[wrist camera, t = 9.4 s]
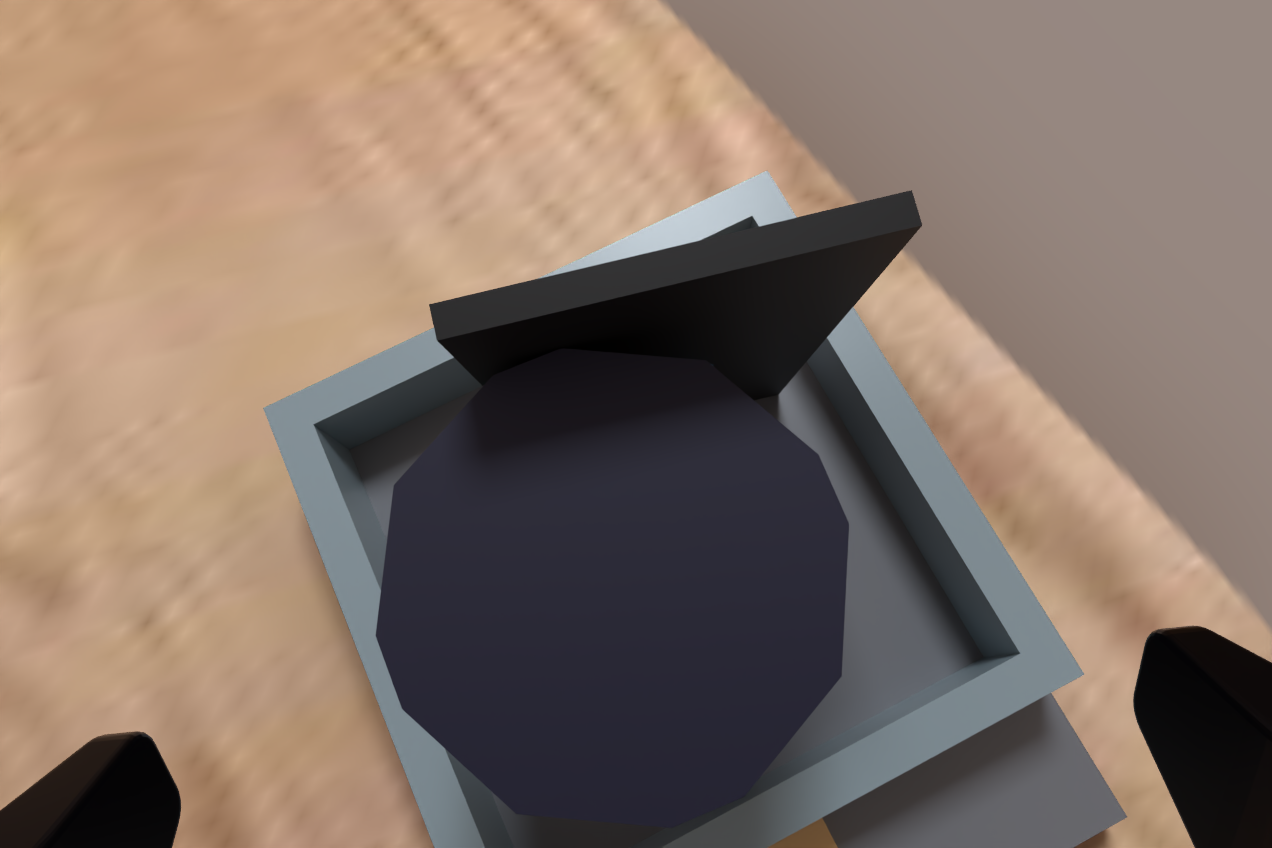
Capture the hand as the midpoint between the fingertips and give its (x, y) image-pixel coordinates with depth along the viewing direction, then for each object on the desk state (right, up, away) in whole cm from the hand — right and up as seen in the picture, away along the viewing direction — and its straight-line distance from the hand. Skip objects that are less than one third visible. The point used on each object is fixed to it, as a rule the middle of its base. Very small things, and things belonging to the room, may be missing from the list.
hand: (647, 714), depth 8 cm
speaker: (+1, 0, +11) cm, 11 cm away
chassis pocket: (+1, -2, +11) cm, 11 cm away
